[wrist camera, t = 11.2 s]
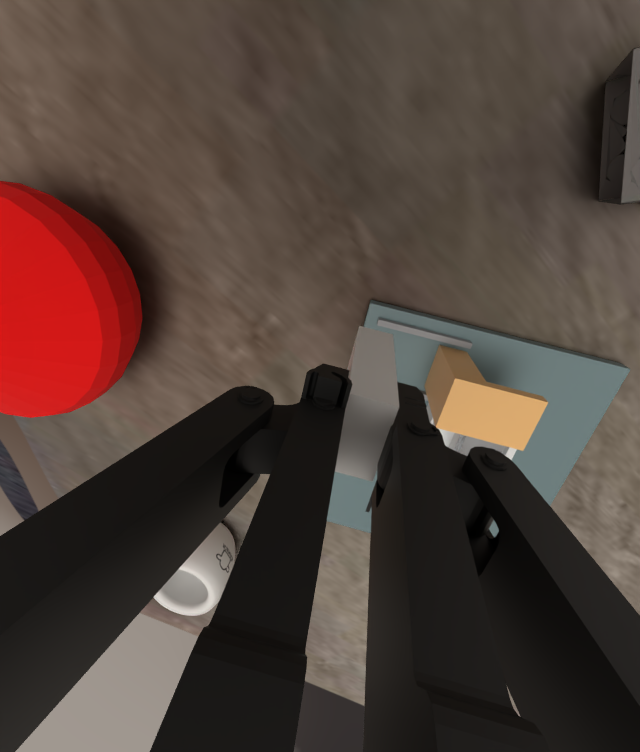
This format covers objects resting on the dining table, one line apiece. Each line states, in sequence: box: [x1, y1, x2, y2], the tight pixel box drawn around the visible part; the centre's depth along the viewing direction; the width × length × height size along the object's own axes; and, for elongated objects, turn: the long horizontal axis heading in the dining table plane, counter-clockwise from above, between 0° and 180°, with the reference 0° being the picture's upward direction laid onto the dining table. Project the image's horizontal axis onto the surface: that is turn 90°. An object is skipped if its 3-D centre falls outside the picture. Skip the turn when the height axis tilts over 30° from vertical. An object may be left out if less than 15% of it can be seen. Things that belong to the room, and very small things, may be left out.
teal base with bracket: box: [327, 300, 630, 537], centre depth 35 cm, size 24×22×9 cm
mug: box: [154, 523, 235, 616], centre depth 44 cm, size 12×8×8 cm
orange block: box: [424, 345, 548, 451], centre depth 31 cm, size 4×6×8 cm, turn 77°
